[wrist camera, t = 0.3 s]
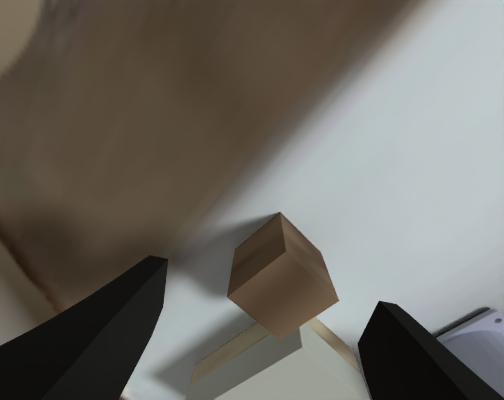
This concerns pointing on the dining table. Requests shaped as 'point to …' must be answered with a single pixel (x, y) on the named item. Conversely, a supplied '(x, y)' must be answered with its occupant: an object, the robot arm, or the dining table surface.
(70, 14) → the dining table surface
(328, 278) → the walnut block
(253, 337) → the slab bottom
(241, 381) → the slab top
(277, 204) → the dining table surface
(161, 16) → the dining table surface
